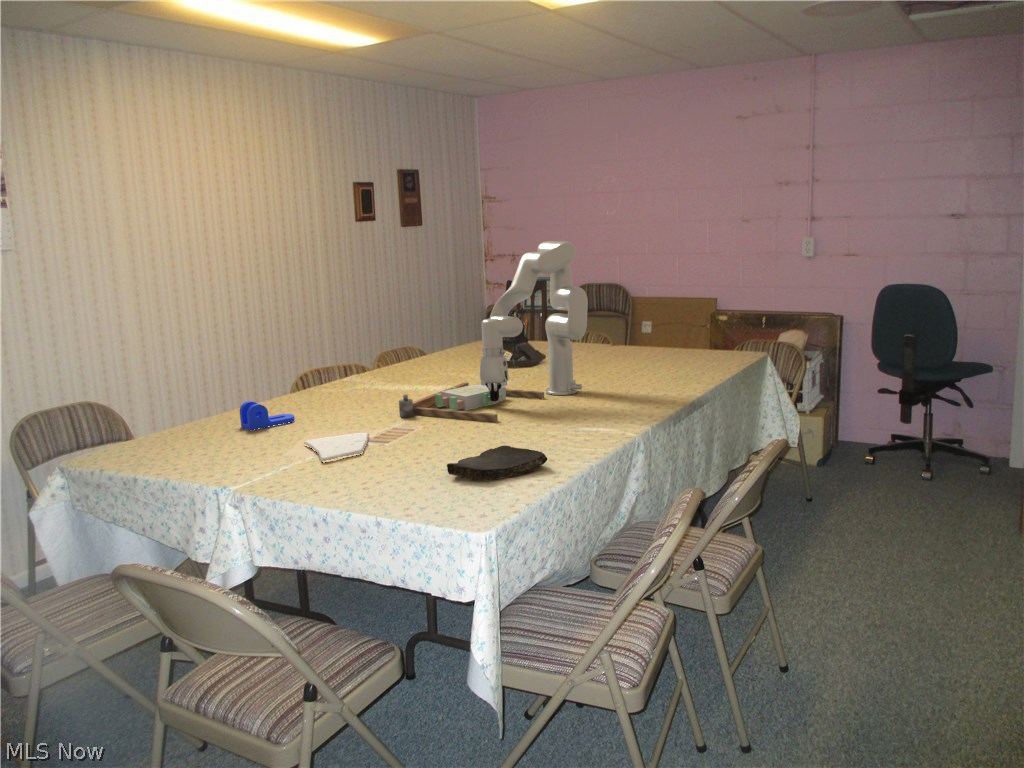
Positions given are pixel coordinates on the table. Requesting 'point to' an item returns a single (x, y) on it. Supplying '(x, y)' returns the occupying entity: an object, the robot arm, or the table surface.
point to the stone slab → (498, 463)
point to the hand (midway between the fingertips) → (494, 400)
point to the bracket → (260, 416)
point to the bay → (426, 404)
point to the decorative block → (467, 397)
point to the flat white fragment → (339, 445)
